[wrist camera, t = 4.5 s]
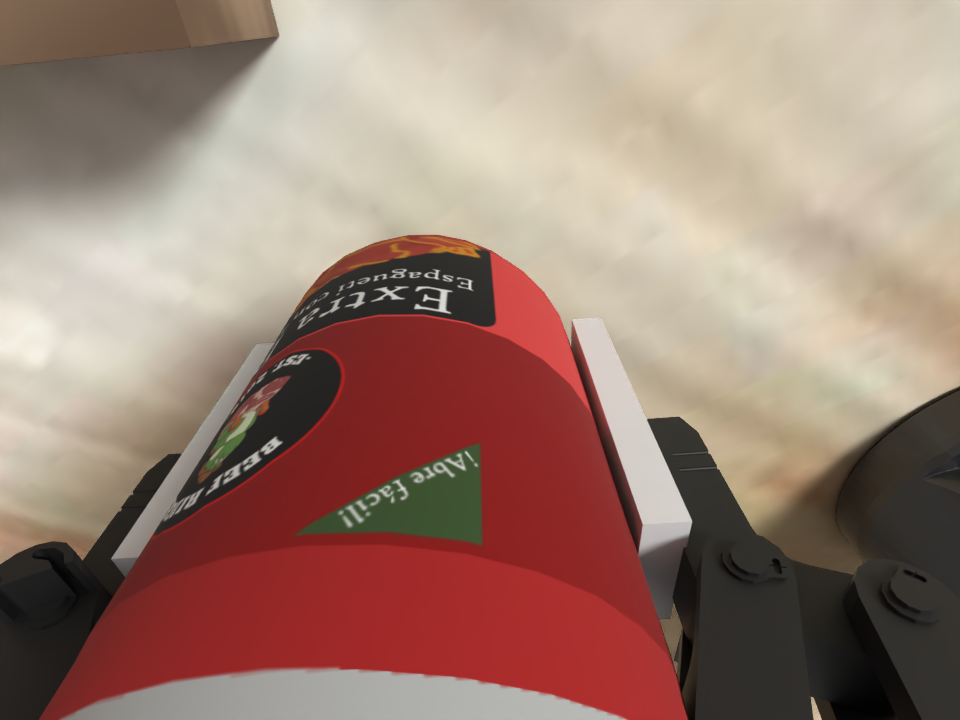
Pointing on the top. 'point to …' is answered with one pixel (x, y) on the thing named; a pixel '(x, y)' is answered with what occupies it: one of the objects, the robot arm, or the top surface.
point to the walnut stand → (124, 26)
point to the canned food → (393, 525)
